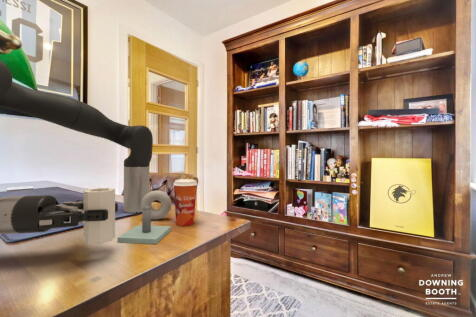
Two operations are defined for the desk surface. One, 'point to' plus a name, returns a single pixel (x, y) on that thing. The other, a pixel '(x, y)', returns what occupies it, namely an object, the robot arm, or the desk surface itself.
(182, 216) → the paper cup
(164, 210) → the donut
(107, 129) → the robot arm
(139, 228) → the peg stand
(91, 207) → the white octagonal tube
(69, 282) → the desk surface
